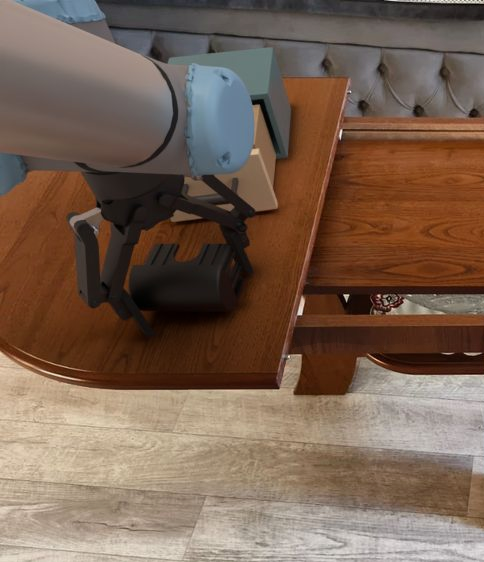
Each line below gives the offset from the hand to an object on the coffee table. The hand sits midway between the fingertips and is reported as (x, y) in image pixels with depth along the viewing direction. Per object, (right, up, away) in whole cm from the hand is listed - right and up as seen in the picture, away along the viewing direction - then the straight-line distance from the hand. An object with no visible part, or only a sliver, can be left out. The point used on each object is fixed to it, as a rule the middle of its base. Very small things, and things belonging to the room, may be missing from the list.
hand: (197, 298), depth 79 cm
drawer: (-1, +13, +12) cm, 18 cm away
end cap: (0, -1, +1) cm, 1 cm away
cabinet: (-4, +23, +23) cm, 33 cm away
